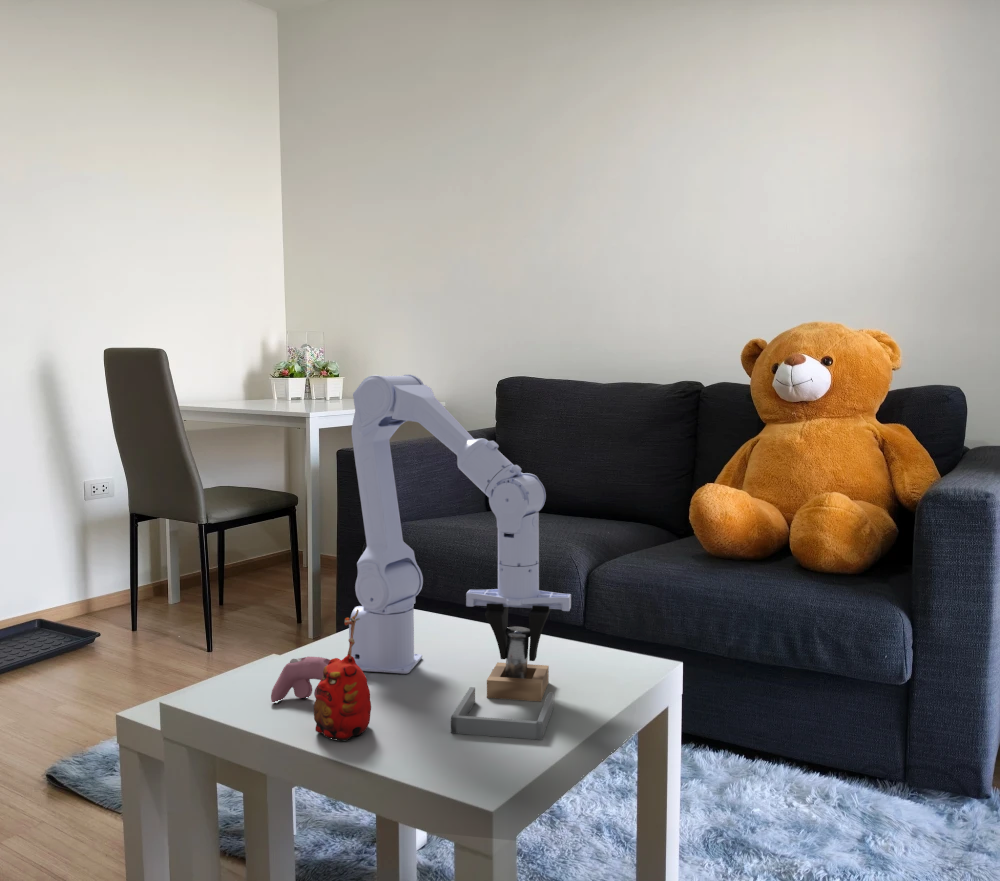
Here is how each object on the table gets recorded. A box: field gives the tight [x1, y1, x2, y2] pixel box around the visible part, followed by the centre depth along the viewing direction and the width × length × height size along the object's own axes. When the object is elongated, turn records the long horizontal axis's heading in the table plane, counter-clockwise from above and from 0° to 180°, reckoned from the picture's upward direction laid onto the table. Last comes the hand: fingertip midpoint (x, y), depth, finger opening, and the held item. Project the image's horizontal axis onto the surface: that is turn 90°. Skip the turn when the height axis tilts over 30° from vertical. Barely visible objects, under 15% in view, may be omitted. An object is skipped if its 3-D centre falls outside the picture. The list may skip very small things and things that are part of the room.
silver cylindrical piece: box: [505, 626, 530, 679], centre depth 126 cm, size 4×4×7 cm
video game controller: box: [270, 656, 331, 703], centre depth 123 cm, size 10×5×7 cm, turn 72°
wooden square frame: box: [486, 662, 550, 702], centre depth 126 cm, size 8×8×2 cm
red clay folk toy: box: [313, 609, 372, 742], centre depth 112 cm, size 8×7×15 cm
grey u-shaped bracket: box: [450, 686, 555, 741], centre depth 116 cm, size 11×11×2 cm
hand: (518, 658), depth 126 cm, fingers closed on silver cylindrical piece, 3 cm apart
